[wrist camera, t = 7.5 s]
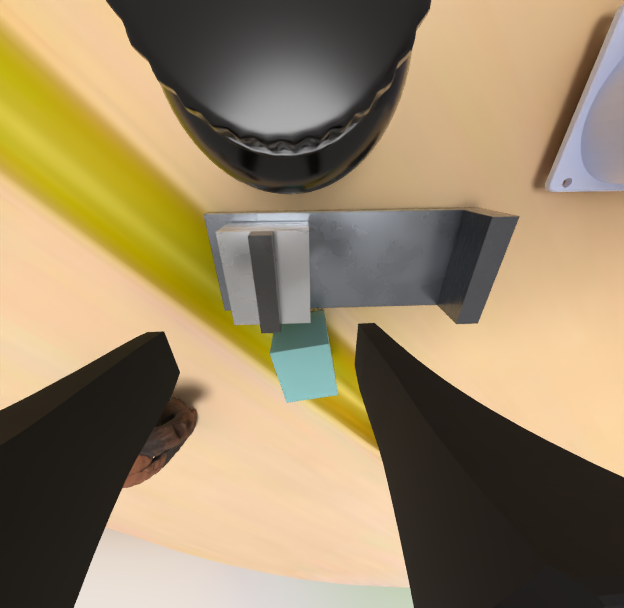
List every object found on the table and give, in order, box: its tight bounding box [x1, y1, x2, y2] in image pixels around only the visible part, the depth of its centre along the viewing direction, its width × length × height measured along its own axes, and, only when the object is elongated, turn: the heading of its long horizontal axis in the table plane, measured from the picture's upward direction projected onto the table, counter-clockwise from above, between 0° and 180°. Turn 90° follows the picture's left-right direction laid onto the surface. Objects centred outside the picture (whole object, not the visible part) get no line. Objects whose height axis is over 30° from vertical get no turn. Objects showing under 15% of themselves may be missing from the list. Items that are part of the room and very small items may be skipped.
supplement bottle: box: [106, 0, 431, 194], centre depth 8 cm, size 7×7×12 cm
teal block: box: [270, 310, 338, 403], centre depth 19 cm, size 4×5×4 cm
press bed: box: [204, 208, 519, 324], centre depth 16 cm, size 18×7×4 cm, turn 91°
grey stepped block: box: [216, 221, 311, 333], centre depth 15 cm, size 5×6×4 cm
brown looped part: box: [122, 398, 196, 488], centre depth 22 cm, size 12×9×8 cm
